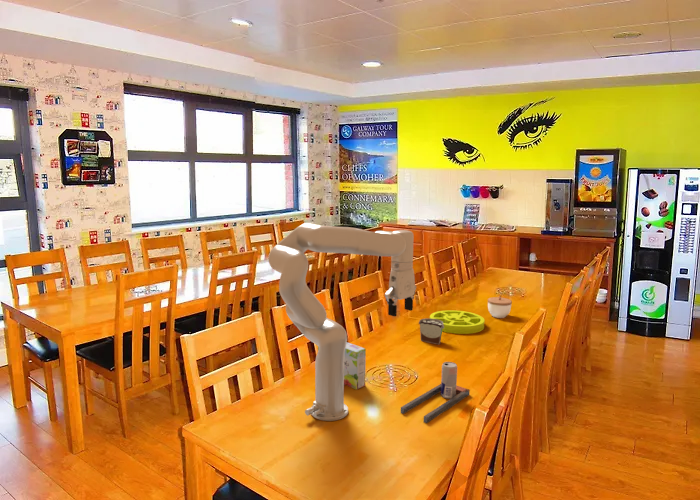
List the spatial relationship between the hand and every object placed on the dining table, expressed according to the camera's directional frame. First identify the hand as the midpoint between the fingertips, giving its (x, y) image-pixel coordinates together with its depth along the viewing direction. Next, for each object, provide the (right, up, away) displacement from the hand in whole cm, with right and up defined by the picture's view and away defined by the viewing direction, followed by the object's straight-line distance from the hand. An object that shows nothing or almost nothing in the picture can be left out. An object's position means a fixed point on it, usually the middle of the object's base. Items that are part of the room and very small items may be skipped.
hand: (400, 312), depth 183 cm
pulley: (+37, -17, +84) cm, 94 cm away
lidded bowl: (+64, -14, +101) cm, 120 cm away
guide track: (+12, -31, -3) cm, 34 cm away
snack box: (-21, -28, +16) cm, 39 cm away
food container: (+21, -21, +60) cm, 67 cm away
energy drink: (+18, -31, +3) cm, 35 cm away
